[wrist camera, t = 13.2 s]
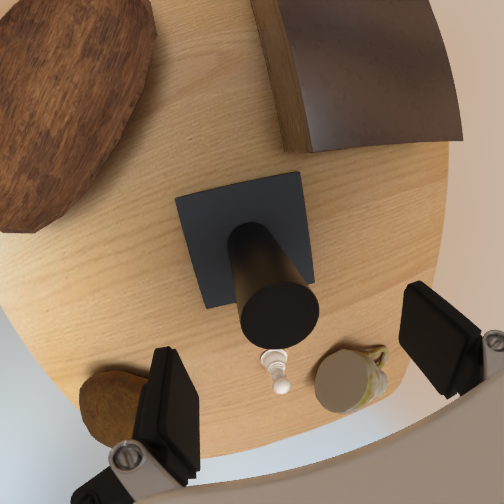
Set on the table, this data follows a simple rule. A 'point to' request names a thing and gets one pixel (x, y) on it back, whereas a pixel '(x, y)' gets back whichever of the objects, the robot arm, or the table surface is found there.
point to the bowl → (65, 99)
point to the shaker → (269, 290)
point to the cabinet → (357, 73)
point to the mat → (234, 214)
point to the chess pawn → (277, 369)
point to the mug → (350, 380)
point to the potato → (110, 405)
